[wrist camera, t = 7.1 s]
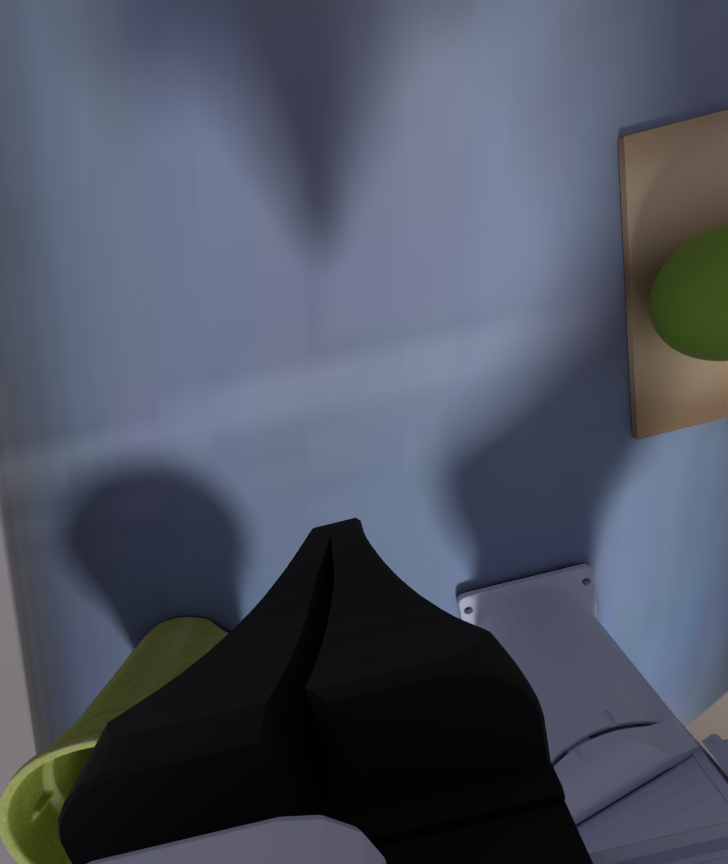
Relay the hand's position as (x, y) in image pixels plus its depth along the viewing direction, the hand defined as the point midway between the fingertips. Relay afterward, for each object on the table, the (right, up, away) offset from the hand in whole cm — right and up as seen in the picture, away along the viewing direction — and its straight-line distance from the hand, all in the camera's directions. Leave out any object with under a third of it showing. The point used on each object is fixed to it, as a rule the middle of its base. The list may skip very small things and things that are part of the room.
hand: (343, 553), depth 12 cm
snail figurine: (+13, +8, +5) cm, 16 cm away
